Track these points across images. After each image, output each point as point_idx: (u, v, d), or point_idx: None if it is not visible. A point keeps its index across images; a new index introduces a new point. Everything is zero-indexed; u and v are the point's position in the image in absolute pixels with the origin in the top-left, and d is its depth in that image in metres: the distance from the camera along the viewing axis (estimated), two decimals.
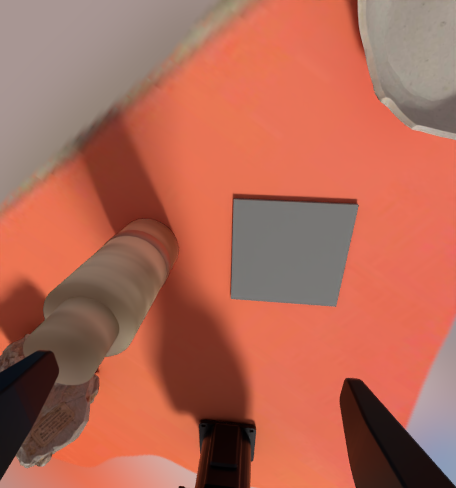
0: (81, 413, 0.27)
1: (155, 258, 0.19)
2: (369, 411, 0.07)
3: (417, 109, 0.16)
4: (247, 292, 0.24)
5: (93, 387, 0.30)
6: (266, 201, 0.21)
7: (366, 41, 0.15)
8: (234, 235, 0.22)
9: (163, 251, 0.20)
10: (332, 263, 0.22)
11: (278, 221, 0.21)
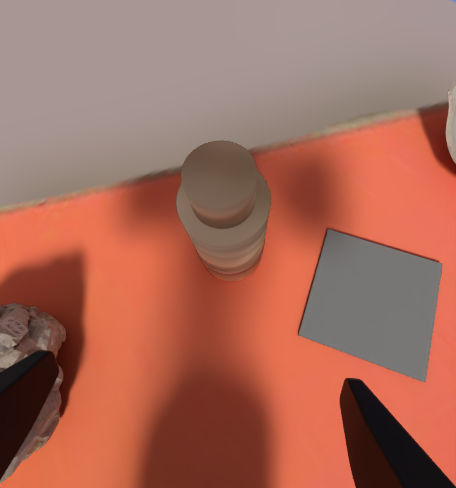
0: None
1: None
2: (369, 411, 0.07)
3: None
4: (320, 331, 0.21)
5: (47, 428, 0.19)
6: (357, 238, 0.23)
7: (450, 142, 0.23)
8: (321, 261, 0.23)
9: None
10: (420, 319, 0.21)
11: (366, 258, 0.23)
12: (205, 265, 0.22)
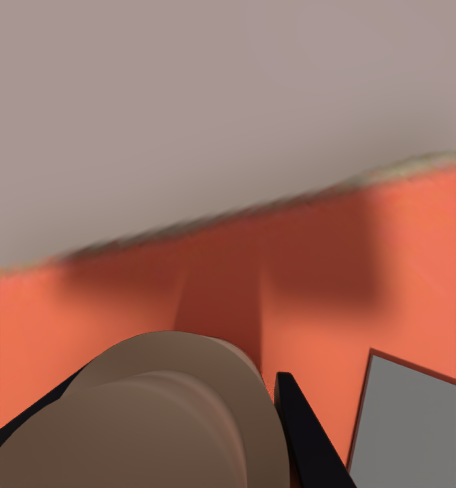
0: None
1: None
2: (289, 403, 0.07)
3: None
4: None
5: None
6: (423, 374, 0.14)
7: None
8: (364, 417, 0.13)
9: None
10: None
11: (443, 415, 0.13)
12: None
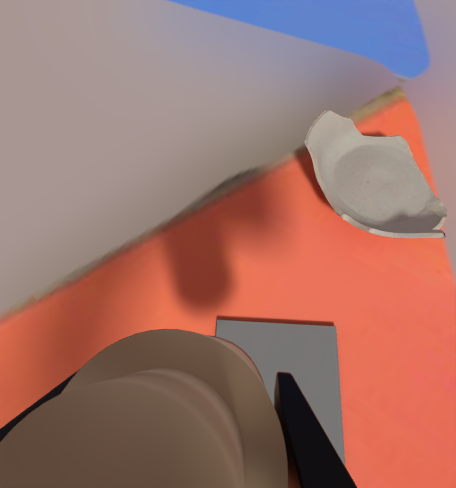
0: None
1: None
2: (289, 403, 0.07)
3: (369, 224, 0.22)
4: None
5: None
6: (248, 322, 0.22)
7: (323, 186, 0.23)
8: None
9: None
10: (326, 397, 0.20)
11: (261, 343, 0.21)
12: None
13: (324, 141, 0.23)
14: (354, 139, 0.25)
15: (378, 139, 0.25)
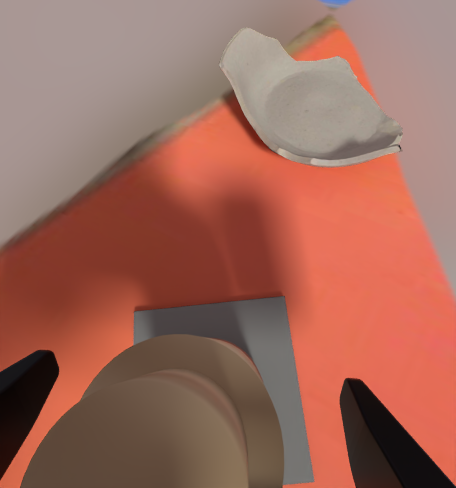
0: None
1: None
2: (369, 411, 0.07)
3: (312, 156, 0.17)
4: None
5: None
6: (174, 308, 0.17)
7: (252, 121, 0.18)
8: None
9: None
10: (280, 388, 0.15)
11: (193, 332, 0.16)
12: None
13: (247, 67, 0.19)
14: (286, 66, 0.20)
15: (314, 64, 0.21)
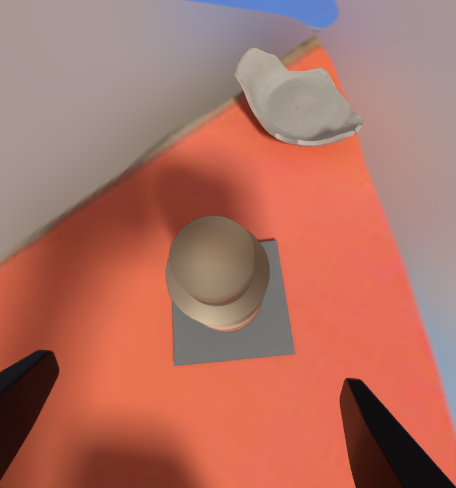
0: None
1: None
2: (369, 411, 0.07)
3: (299, 139, 0.25)
4: (192, 353, 0.21)
5: None
6: None
7: (257, 115, 0.26)
8: None
9: None
10: (273, 298, 0.22)
11: None
12: None
13: (253, 75, 0.26)
14: (282, 75, 0.28)
15: (302, 73, 0.28)
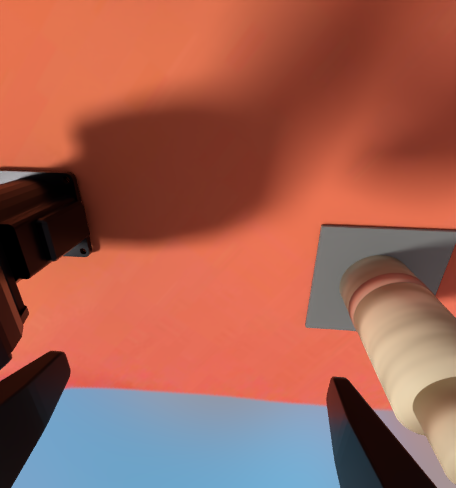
0: None
1: None
2: (353, 409, 0.07)
3: None
4: (330, 245, 0.20)
5: None
6: (446, 263, 0.20)
7: None
8: (413, 232, 0.19)
9: None
10: None
11: (420, 275, 0.21)
12: (370, 272, 0.19)
13: None
14: None
15: None
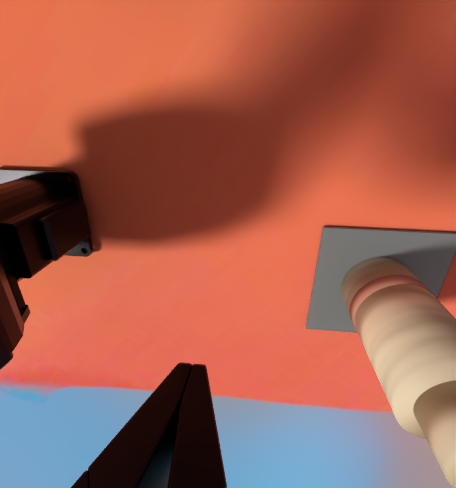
0: None
1: None
2: (191, 393, 0.07)
3: None
4: (331, 247, 0.20)
5: None
6: (448, 266, 0.20)
7: None
8: (415, 234, 0.19)
9: None
10: None
11: (422, 277, 0.20)
12: (371, 274, 0.19)
13: None
14: None
15: None
